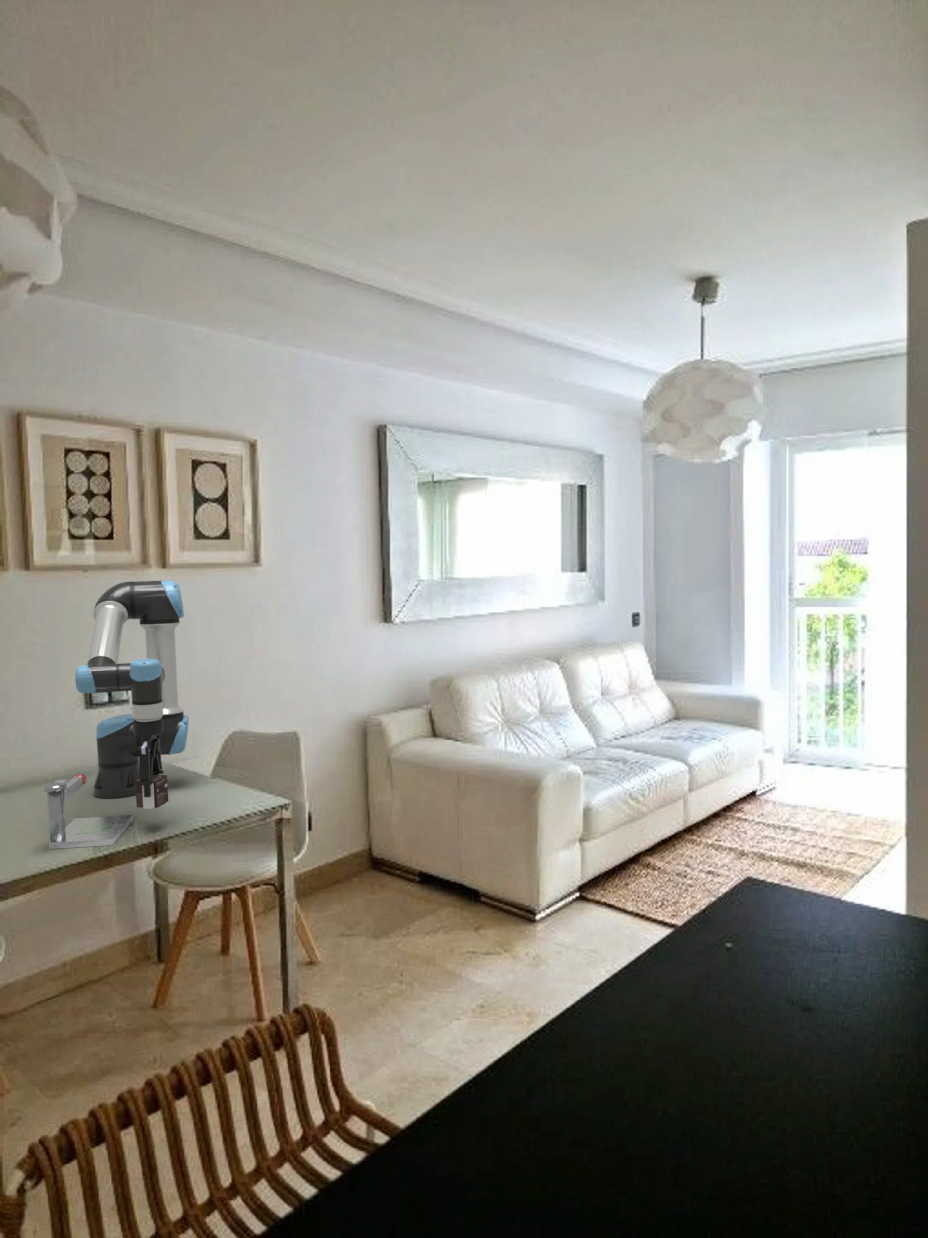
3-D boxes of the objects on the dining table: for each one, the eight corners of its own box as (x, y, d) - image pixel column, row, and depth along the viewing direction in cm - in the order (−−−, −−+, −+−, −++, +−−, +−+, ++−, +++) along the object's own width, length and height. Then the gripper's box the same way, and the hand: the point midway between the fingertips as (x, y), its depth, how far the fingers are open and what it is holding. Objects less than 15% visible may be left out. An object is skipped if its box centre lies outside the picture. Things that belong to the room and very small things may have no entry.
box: (157, 809, 220) (155, 781, 219) (135, 808, 221) (134, 780, 220) (169, 801, 226) (167, 774, 225) (148, 800, 227) (146, 774, 226)
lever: (63, 808, 209) (61, 787, 208) (41, 809, 208) (40, 788, 208) (91, 783, 232) (90, 764, 231) (72, 784, 231) (71, 765, 231)
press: (74, 824, 229) (71, 773, 228) (132, 820, 231) (130, 770, 230) (47, 849, 210) (44, 793, 208) (112, 845, 211) (109, 790, 210)
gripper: (142, 711, 230) (147, 792, 233) (122, 728, 211) (127, 817, 213) (171, 710, 231) (175, 791, 234) (154, 726, 212) (158, 815, 214)
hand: (152, 803), depth 223 cm, fingers closed on box, 7 cm apart
